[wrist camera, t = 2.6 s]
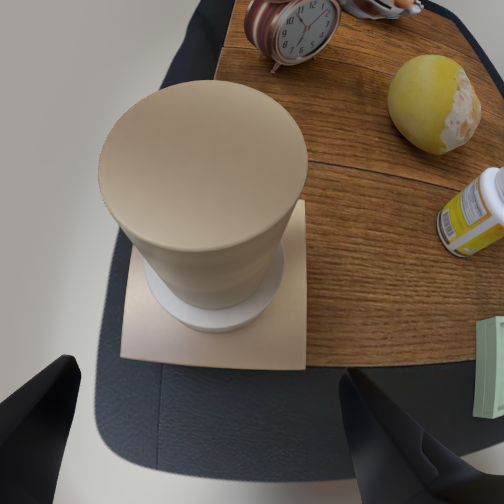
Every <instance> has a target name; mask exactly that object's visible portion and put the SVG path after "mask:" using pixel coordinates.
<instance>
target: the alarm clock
mask: <svg viewBox="0 0 504 504" xmlns="http://www.w3.org/2000/svg"><path fill="white" fill-rule="evenodd" d="M341 12H342V9H341V3H340V1H339V0H252V1H251V2H250V4H249V6H248V8H247V11H246V14H245V19H244V31H245V34H246V37H247V39H248V40H249V41H250V42H251V43H252V44H253V45H254V46H255V47H256V48H257V49H258V50H259V51H260V52H261V53H260V55H258V58H259V59H260V58H261V56H262V55H263V54H264V55H266V56H268V57H269V58H271V59H273V60H274V61H276V63H275V65H274V68H273V70H271V73H272V74H274V73H275V70H276V69H277V68H278V67H279V66H280V65H281V64H283V65H296V64H299V63H302V62H304V61H306V60H308V59H310V58H312V59H313V60H315V59H316V57H315V55H316V54H317V53H318V52H320V51H321V50H322V49H323V48H324V47H325V46H326V45H327V43H328V42H329V41H330V40H331V38H332V37H333V35H334V34H335V32H336V30H337V28H338V26H339V23H340V19H341Z"/></svg>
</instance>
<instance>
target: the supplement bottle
mask: <svg viewBox="0 0 504 504" xmlns="http://www.w3.org/2000/svg"><path fill="white" fill-rule="evenodd" d="M437 229H438V233H439V236H440V238H441V240H442V242H443V244H444V245H445V247H446V248H447V249H448V250H449V251H450V252H452V253H453V254H455V255H457V256H460V257H467V256H470V255H472V254H474V253H476V252H477V251H479V250H481V249H483V248H485V247H486V246H488V245H490V244H491V243H493V242H495V241H497V240H498V239H500V238H502V237H503V236H504V167H502V168H500V169H498V168H488V169H486V170H485V171H484V172H482V173H481V174H480V175H479V176H478V177H477V178H476V179H475V180H474V181H472V182H471V183H470V184H469V185H468V186H467V187H466V188H465V189H463V190H462V191H461V192H460V193H459V194H458V195H457V196H455V197H454V198H453V199H452V200H451V201H450V202H448V203H447V204H446V205H445V206H444V207H443V208H442V209H441V210H440V212H439V214H438V217H437Z"/></svg>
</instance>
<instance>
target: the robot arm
mask: <svg viewBox="0 0 504 504" xmlns="http://www.w3.org/2000/svg"><path fill="white" fill-rule="evenodd" d="M80 381H81V371H80V369H79V366H78V364H77V362H76V359H75V357H74V356H71V355H62V356H60V357H59V358H58V359H56V360H55V361H54V362H52V363H51V364H50V365H48V366H47V367H46V368H45V369H44V370H42V371H41V372H39V373H38V374H37V375H36V376H34V377H33V378H32V379H30V380H29V381H28V382H27V383H25V384H24V385H23V386H22V387H20V388H19V389H18V390H16V391H15V392H14V393H13V394H11V395H10V396H9V397H8V398H6V399H5V400H4V401H3V402H1V403H0V504H53V499H54V494H55V489H56V484H57V479H58V475H59V470H60V466H61V462H62V458H63V454H64V450H65V446H66V442H67V438H68V435H69V431H70V428H71V424H72V421H73V417H74V413H75V408H76V402H77V397H78V392H79V386H80ZM339 394H340V401H341V409H342V416H343V424H344V429H345V434H346V438H347V442H348V446H349V450H350V454H351V458H352V462H353V466H354V470H355V474H356V478H357V482H358V486H359V491H360V495H361V500H362V504H504V475H492V474H486V473H483V472H481V471H479V470H477V469H475V468H474V467H472V466H471V465H469V464H468V463H467V462H465V461H464V460H462V459H461V458H460V457H458V456H457V455H455V454H454V453H453V452H451V451H450V450H449V449H447V448H446V447H445V446H443V445H442V444H441V443H440V442H439V441H437V440H436V439H435V438H434V437H433V436H432V435H431V434H429V433H428V432H427V431H426V430H424V428H423V427H422V426H421V425H420V424H418V423H417V422H416V421H415V420H414V419H413V418H412V417H411V416H410V415H409V414H408V413H407V412H405V411H404V410H403V409H402V408H401V407H400V406H399V405H398V404H397V403H396V402H395V401H394V400H393V399H391V398H390V397H389V396H388V395H387V394H386V393H385V392H384V391H383V390H382V389H381V388H380V387H379V386H377V385H376V384H375V383H374V382H373V381H372V380H371V379H370V378H369V377H368V376H367V375H366V374H365V373H364V372H362V371H361V370H360V369H359V368H358V367H347V368H345V370H344V372H343V375H342V377H341V380H340V383H339Z"/></svg>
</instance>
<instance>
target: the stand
mask: <svg viewBox="0 0 504 504" xmlns="http://www.w3.org/2000/svg"><path fill="white" fill-rule="evenodd" d="M281 239H282V242H283V245H284V251H285V269H284V275H283V279H282V282H281V284H280V287H279V289H278V291H277V293H276V294H275V296H274V298H273V299H272V301H271V302H270V303H269V305H268V306H267V307H266V309H265V310H264V311H263V312H262V314H261V315H260V316H259V317H258V318H257V319H256V320H254V321H253V322H252V323H250V324H249V325H247V326H245V327H244V328H242V329H239V330H237V331H234V332H230V333H224V334H208V333H203V332H199V331H196V330H193V329H191V328H189V327H187V326H185V325H184V324H182V323H181V322H179V321H178V320H177V319H175V318H174V317H173V316H171V315H170V314H169V313H168V312H167V311H166V310H164V309H163V308H162V307H161V305H160V304H159V303H158V302H157V301H156V299H155V298H154V296H153V294H152V293H151V291H150V288H149V286H148V284H147V280H146V277H145V272H144V257H143V256H142V254H141V253H140V252H139V251H138V249H137V248H136V247H135V246H134V244H133V247H132V253H131V260H130V267H129V274H128V282H127V290H126V298H125V307H124V317H123V327H122V339H121V353H120V357H121V358H125V359H132V360H140V361H148V362H156V363H165V364H175V365H186V366H198V367H212V368H229V369H254V370H305V369H306V323H307V281H306V228H305V201H304V200H299V199H298V201H297V203H296V205H295V208H294V210H293V213H292V215H291V217H290V220H289V222H288V224H287V227H286V229H285V231H284V233H283V236H282V238H281Z"/></svg>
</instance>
